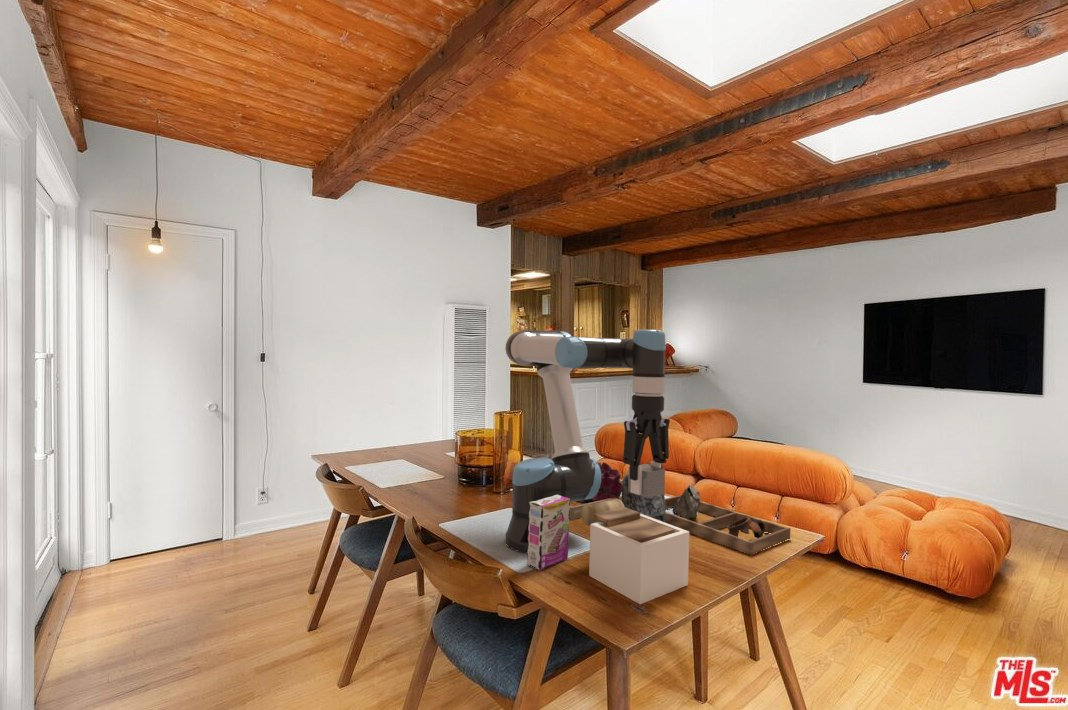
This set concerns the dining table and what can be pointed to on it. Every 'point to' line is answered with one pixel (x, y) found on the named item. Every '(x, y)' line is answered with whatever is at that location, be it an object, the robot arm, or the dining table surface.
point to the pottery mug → (743, 526)
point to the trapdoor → (623, 521)
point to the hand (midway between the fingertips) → (645, 491)
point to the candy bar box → (548, 531)
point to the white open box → (639, 562)
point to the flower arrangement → (607, 484)
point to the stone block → (644, 503)
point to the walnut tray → (723, 520)
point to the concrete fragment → (688, 503)
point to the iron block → (650, 481)
